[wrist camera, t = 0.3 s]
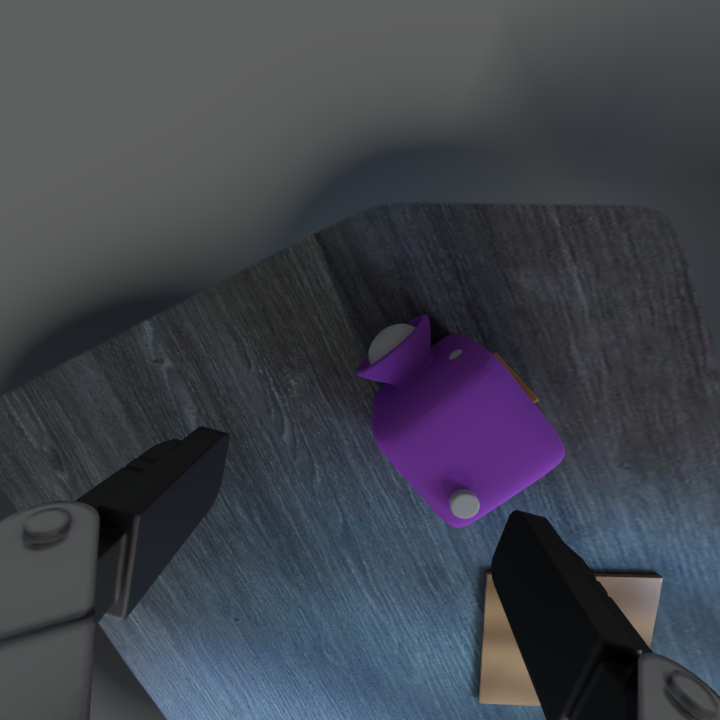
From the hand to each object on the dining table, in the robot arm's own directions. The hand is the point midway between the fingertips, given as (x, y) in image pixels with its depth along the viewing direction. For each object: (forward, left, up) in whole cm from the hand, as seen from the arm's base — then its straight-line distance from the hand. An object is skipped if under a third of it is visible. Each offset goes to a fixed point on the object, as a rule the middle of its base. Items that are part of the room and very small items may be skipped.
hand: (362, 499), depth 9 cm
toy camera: (+1, +5, -21) cm, 21 cm away
